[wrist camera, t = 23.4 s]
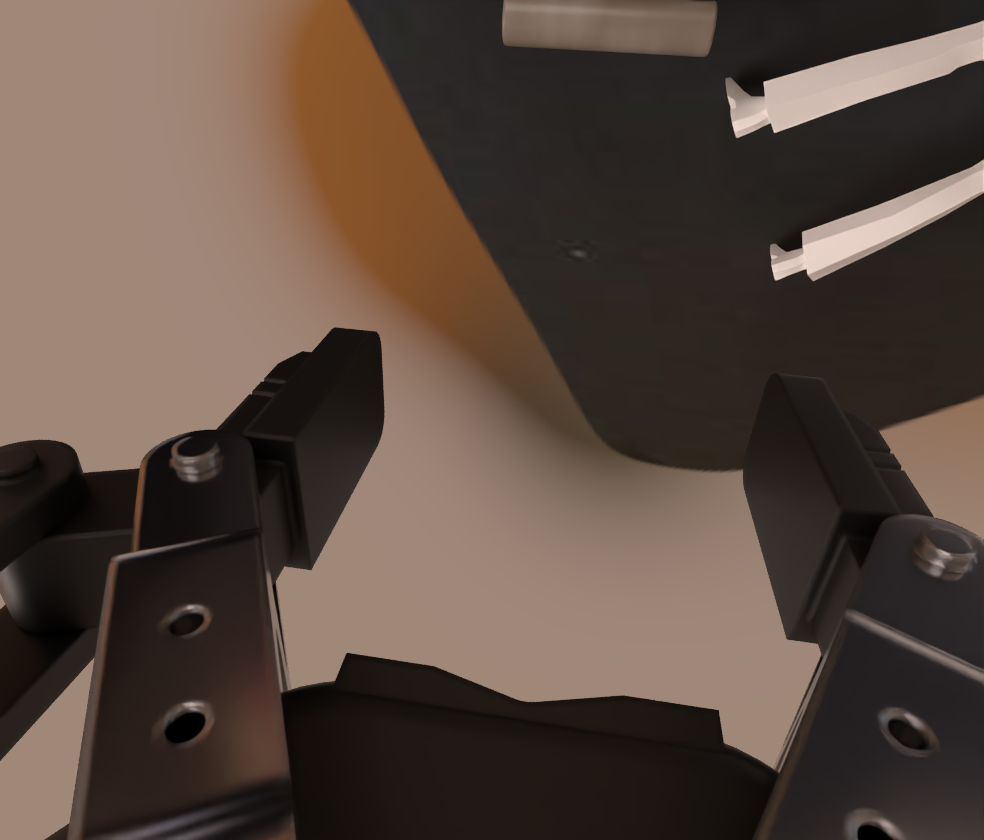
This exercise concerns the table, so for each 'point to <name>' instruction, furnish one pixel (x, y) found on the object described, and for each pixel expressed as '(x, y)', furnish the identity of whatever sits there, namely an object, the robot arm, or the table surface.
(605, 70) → the table surface
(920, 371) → the table surface
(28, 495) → the robot arm
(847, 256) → the male figurine
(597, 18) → the drawer
